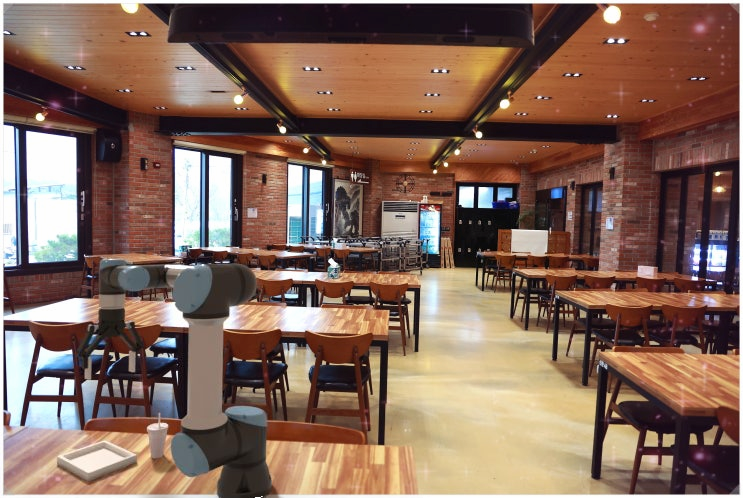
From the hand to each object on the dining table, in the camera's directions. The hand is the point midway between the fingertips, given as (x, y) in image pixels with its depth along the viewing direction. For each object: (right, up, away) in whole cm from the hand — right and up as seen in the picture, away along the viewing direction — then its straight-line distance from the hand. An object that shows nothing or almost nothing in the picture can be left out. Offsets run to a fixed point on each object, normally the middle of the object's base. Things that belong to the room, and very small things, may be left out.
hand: (110, 375), depth 161 cm
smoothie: (+13, -27, +4) cm, 30 cm away
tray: (-3, -27, -3) cm, 27 cm away
